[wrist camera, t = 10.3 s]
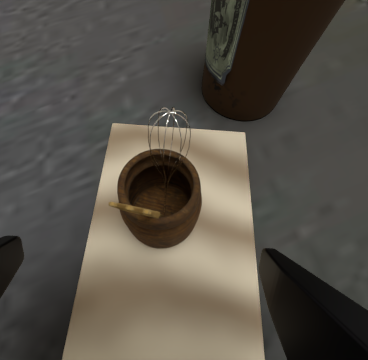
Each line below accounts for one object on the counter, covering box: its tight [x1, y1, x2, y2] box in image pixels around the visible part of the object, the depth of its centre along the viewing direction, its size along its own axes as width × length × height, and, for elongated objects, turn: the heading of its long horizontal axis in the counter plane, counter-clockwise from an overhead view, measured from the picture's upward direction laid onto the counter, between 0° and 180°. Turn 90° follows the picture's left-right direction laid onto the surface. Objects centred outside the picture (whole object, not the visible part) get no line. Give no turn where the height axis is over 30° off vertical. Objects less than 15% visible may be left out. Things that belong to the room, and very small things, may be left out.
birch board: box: [62, 123, 265, 360], centre depth 20 cm, size 20×14×1 cm
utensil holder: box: [108, 107, 202, 249], centre depth 15 cm, size 6×6×12 cm
